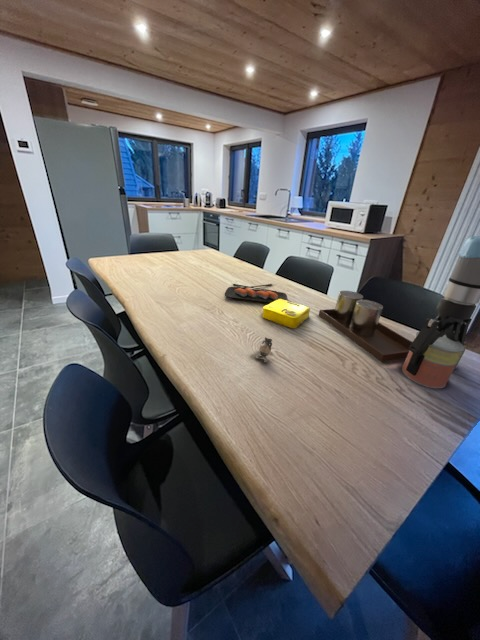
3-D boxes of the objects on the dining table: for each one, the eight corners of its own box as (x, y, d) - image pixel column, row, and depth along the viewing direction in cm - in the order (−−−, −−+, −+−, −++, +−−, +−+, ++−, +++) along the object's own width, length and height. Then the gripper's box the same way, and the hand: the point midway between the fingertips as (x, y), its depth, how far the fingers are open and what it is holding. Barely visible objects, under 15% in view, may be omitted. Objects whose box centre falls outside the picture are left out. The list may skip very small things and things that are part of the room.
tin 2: (379, 335, 97) (389, 308, 92) (359, 338, 94) (368, 310, 90) (362, 324, 105) (370, 299, 100) (343, 326, 102) (351, 300, 97)
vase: (262, 350, 84) (264, 333, 81) (276, 357, 81) (279, 340, 78) (251, 356, 80) (253, 339, 77) (266, 364, 77) (269, 346, 74)
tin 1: (360, 323, 106) (368, 298, 101) (342, 325, 103) (349, 299, 98) (345, 314, 113) (352, 290, 109) (328, 315, 110) (334, 290, 106)
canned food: (451, 379, 77) (470, 344, 72) (437, 393, 71) (457, 356, 65) (411, 360, 85) (425, 327, 80) (395, 371, 78) (409, 336, 73)
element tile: (309, 317, 109) (312, 306, 107) (294, 329, 98) (296, 318, 96) (278, 307, 117) (279, 296, 115) (260, 317, 106) (261, 306, 104)
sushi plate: (222, 299, 120) (223, 291, 118) (233, 280, 146) (233, 274, 145) (287, 307, 117) (288, 299, 115) (285, 286, 144) (286, 280, 142)
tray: (420, 357, 87) (424, 349, 86) (380, 364, 82) (383, 355, 80) (351, 314, 116) (353, 307, 114) (318, 316, 110) (319, 309, 109)
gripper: (474, 293, 74) (441, 358, 84) (412, 296, 67) (384, 367, 76) (504, 303, 68) (466, 372, 77) (440, 308, 60) (406, 384, 70)
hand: (425, 369), depth 77 cm, fingers closed on canned food, 11 cm apart
